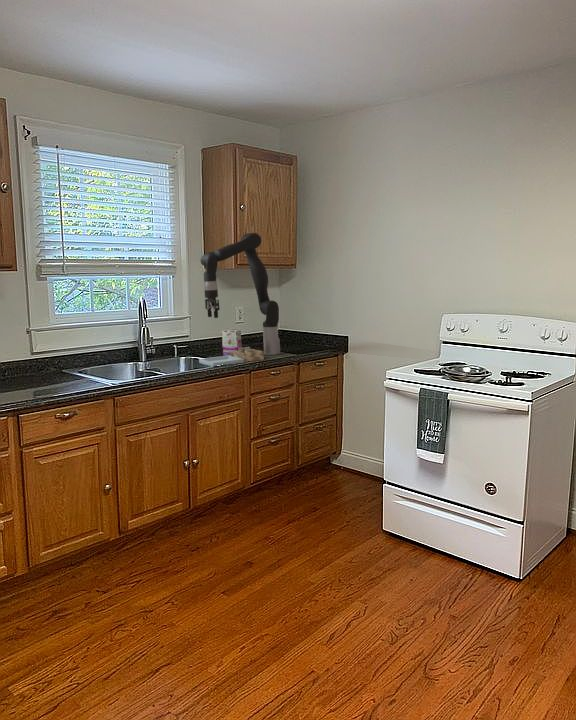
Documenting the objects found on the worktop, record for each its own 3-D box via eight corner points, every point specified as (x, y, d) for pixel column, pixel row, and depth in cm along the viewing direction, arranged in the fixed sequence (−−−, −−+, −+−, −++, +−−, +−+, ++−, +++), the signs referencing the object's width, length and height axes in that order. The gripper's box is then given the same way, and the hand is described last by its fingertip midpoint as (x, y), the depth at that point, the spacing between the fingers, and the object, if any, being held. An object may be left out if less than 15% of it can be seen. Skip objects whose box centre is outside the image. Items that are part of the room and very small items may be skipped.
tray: (228, 359, 362) (228, 355, 362) (243, 363, 347) (243, 359, 346) (199, 363, 353) (199, 359, 352) (213, 367, 337) (213, 363, 336)
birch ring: (254, 356, 368) (254, 348, 368) (265, 359, 357) (264, 351, 357) (233, 359, 361) (233, 351, 360) (244, 362, 350) (243, 353, 349)
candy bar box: (242, 357, 370) (241, 330, 367) (238, 358, 365) (236, 331, 363) (227, 356, 375) (225, 329, 372) (222, 357, 370) (221, 330, 368)
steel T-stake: (249, 358, 363) (249, 346, 362) (251, 358, 362) (250, 347, 361) (241, 359, 361) (241, 347, 360) (243, 359, 359) (242, 348, 358)
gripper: (222, 289, 343) (224, 317, 346) (211, 288, 355) (213, 316, 358) (210, 290, 339) (212, 318, 342) (199, 289, 351) (202, 317, 354)
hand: (213, 317), depth 350 cm, fingers open, 8 cm apart
